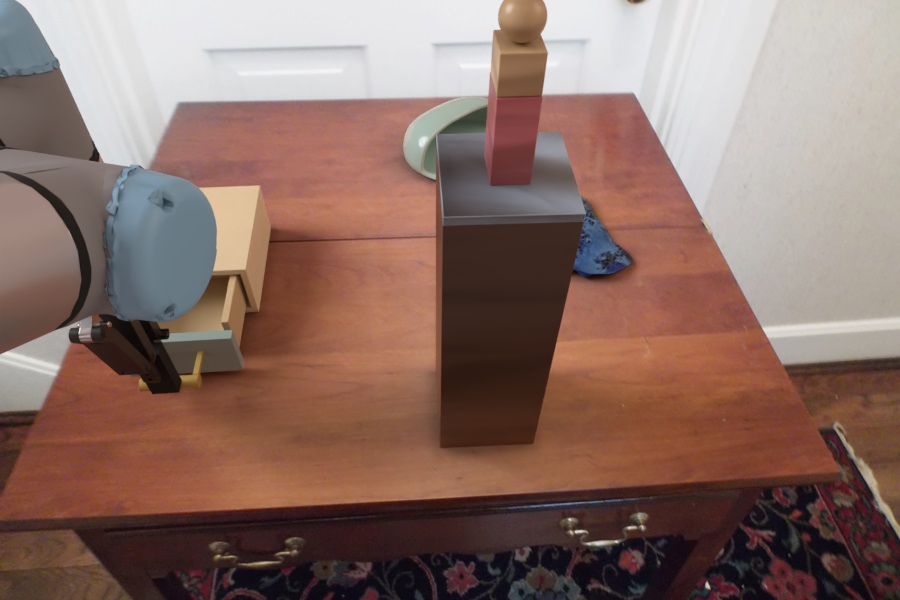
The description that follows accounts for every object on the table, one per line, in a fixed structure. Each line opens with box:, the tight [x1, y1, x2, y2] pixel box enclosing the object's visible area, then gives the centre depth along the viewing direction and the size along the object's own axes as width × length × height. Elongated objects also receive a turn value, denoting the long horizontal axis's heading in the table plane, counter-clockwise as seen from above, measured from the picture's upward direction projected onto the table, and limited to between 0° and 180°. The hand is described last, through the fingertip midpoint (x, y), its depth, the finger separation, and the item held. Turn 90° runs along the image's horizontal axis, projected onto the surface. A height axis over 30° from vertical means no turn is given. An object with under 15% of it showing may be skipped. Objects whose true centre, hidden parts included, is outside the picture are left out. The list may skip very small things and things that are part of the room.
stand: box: [435, 131, 586, 449], centre depth 60 cm, size 10×10×32 cm
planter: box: [402, 95, 488, 181], centre depth 101 cm, size 19×7×16 cm
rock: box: [573, 195, 633, 278], centre depth 89 cm, size 15×17×2 cm
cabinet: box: [198, 184, 272, 314], centre depth 82 cm, size 16×14×8 cm
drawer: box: [129, 274, 248, 392], centre depth 74 cm, size 19×12×6 cm, turn 5°
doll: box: [484, 0, 549, 185], centre depth 43 cm, size 4×3×13 cm
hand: (167, 387), depth 66 cm, fingers closed
